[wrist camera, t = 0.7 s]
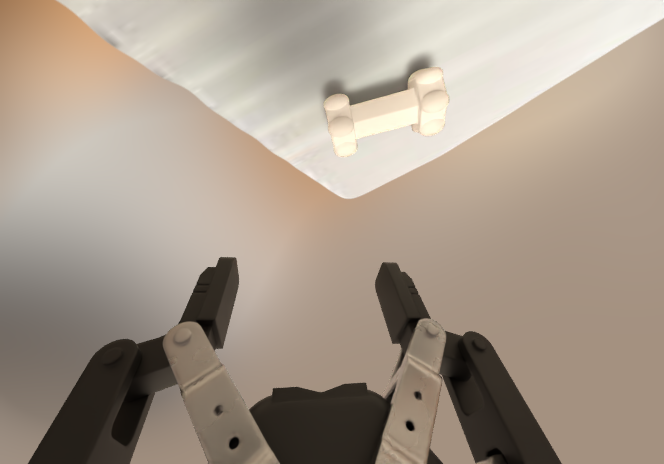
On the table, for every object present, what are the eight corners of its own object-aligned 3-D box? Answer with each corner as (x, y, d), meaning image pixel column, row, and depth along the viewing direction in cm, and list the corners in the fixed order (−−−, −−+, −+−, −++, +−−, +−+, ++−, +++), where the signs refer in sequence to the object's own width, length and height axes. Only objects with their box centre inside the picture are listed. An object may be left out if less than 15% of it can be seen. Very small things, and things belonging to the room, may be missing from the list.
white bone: (432, 50, 30) (457, 78, 26) (426, 113, 37) (444, 145, 33) (319, 83, 32) (323, 115, 28) (333, 138, 40) (338, 171, 35)
